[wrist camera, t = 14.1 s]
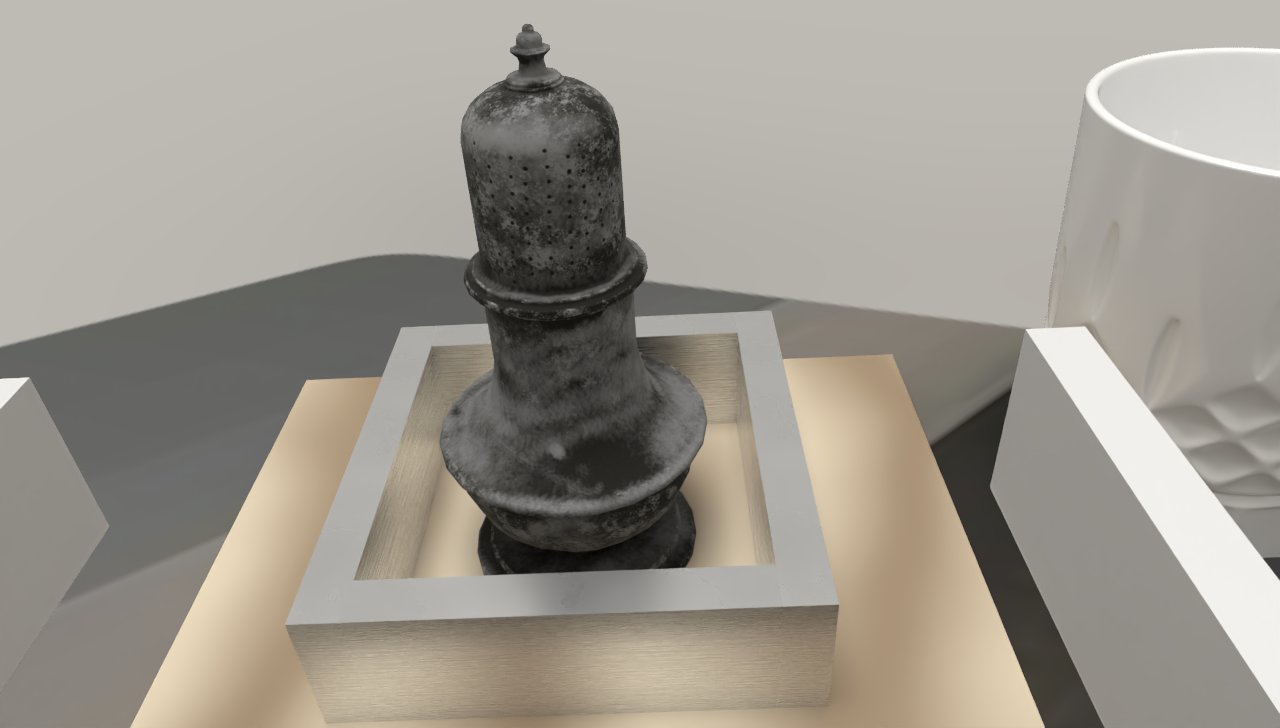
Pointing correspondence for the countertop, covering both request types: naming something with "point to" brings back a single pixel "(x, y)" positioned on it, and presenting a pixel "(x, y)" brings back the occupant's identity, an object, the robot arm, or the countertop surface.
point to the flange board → (715, 490)
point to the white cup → (1186, 259)
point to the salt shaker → (564, 345)
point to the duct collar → (573, 601)
